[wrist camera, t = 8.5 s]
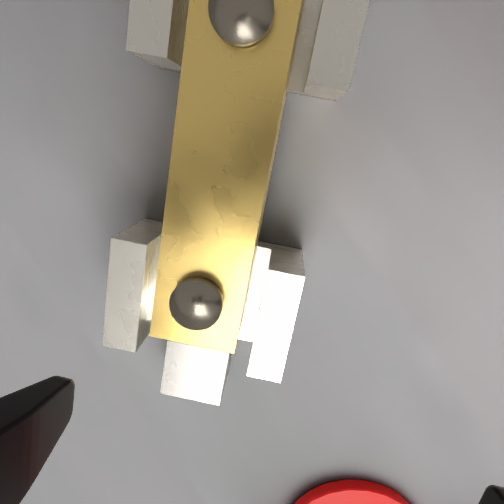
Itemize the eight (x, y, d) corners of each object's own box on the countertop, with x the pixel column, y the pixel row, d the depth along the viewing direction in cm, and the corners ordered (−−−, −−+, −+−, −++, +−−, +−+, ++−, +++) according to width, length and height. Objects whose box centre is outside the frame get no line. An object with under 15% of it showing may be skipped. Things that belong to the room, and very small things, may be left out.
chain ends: (385, -118, 15) (417, -201, 12) (271, 385, 22) (267, 438, 18) (183, -151, 16) (148, -244, 12) (130, 356, 22) (98, 401, 19)
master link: (306, -6, 16) (312, -60, 11) (244, 311, 20) (231, 361, 15) (219, -22, 16) (193, -81, 12) (176, 297, 20) (144, 343, 16)
